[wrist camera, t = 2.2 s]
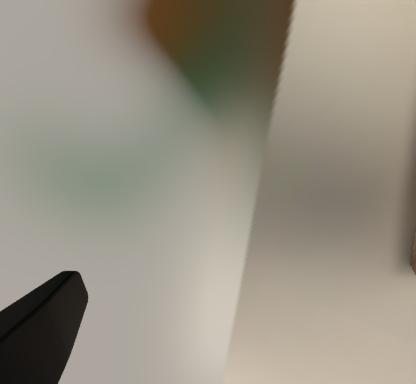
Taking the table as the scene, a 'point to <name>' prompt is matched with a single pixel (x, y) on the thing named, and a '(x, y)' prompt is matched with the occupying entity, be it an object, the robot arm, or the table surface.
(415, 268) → the door and jamb
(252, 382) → the table surface
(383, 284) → the table surface
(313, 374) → the table surface
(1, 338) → the robot arm
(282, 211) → the table surface
